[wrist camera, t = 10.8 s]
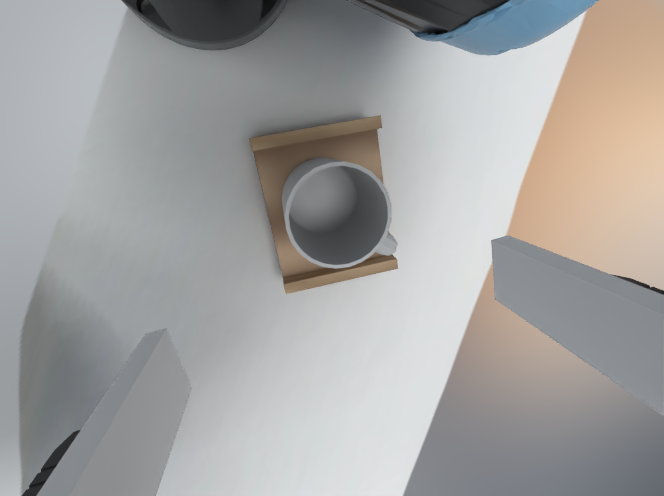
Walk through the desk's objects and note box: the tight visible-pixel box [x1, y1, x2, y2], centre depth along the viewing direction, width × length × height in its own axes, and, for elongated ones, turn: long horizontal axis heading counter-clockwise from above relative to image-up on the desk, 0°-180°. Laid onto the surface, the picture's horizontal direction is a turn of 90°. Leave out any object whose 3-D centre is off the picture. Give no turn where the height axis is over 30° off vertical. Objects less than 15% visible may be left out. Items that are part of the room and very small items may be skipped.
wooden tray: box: [249, 115, 398, 294], centre depth 32 cm, size 14×11×4 cm
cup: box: [282, 157, 397, 269], centre depth 27 cm, size 7×10×9 cm
